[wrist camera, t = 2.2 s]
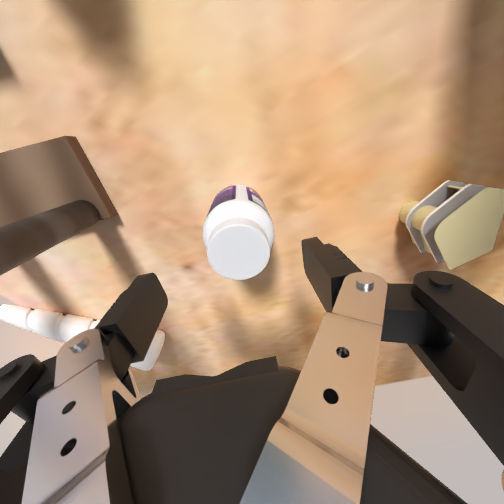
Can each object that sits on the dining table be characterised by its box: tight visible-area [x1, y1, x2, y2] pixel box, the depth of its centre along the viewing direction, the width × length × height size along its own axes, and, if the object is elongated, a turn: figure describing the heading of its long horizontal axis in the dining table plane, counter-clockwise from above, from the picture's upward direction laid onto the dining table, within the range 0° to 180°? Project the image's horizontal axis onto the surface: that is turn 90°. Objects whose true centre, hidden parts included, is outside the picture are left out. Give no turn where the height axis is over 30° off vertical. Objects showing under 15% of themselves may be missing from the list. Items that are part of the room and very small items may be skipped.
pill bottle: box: [203, 184, 274, 280], centre depth 17 cm, size 5×5×10 cm
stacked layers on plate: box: [399, 180, 504, 270], centre depth 21 cm, size 10×9×6 cm
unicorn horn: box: [0, 304, 165, 371], centre depth 25 cm, size 5×24×5 cm, turn 66°
